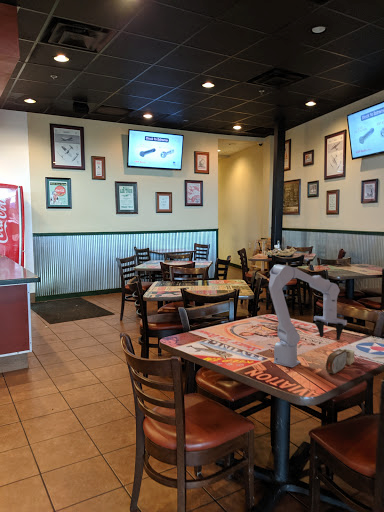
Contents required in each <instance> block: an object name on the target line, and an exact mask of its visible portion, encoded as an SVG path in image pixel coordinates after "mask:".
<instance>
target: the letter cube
mask: <svg viewBox="0 0 384 512" xmlns="http://www.w3.org/2000/svg"><path fill="white" fill-rule="evenodd" d="M341 350H344V351H346V352H347V363H346V365H349V366H351V365H352V364H353V363H354V362H355V350H351V349H346V348H342V349H341Z"/></svg>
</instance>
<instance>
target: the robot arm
mask: <svg viewBox="0 0 384 512" xmlns="http://www.w3.org/2000/svg"><path fill="white" fill-rule="evenodd" d="M269 275H270V276H269V281H268V282H269V283H268V290H269V293H270V297H271V301H272V304H273V308H274V311H275V315H276V318H277V321H278V325H277V327H276V328H277V334H276V335H277V337H278V339H279V341H277V342H276V343H274V344H275V345H274V347H273V357H274V358H273V364H277V365H281V366H283V367H289V368H294V367H296V366H298V365H299V364H301V360H298V344H299V342H300V340H301V336H300V334H299V333H298V331H297V329H296V327H295V326H294V324H293V322H292V320H291V316H290V313H289V308H288V305H287V302H286V298H285V295H284V292H283V291H284V290H283V288H284V287H285V286H286V285H287V284H288V283H289V282H290V281H291V280H292V279H296V278H297V279H299V280H301V281H304V282H306V283H308V285H309V288H312V289H314V290H316V291H319V292H321V294H323V296H322V297H323V298H322V299H323V301H322V302H323V303H322V304H323V306H322V309H323V311H322V313H323V315H322V316H321V315H320V316H319V315H315V316H313V321H315V322H314V325H315V326H316V328H317V330H318V334H319V337H320V338H324V334H325V333H324V332H325V331H324V327H325V326H324V325H325V323H331V324H335V331H336V337H335V338H336V341H340V340H341V335H342V332H343V330H344V329H345V326H347V325H348V320H347V319H342V318H338V317H337V316H338V314H337V312H338V310H337V309H338V307H337V306H338V303H337V302H338V301H337V300H338V297H339V296H338V295H339V293H340V290H341V289H340V288H339V286H338V284H337V283H334V282H330V280H329V279H325V278H323V277H322V275H319V274H318V275H316V274H315V275H310V274H308V273H306V272H304V271H302V270H300V269H299V268H296V267H292V266H290V265H282V264H279V263H278V264H274V265H273V267H272V268H271V269H270V270H269Z"/></svg>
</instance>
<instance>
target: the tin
mask: <svg viewBox="0 0 384 512" xmlns="http://www.w3.org/2000/svg"><path fill="white" fill-rule="evenodd" d="M346 363H347V352H346V351H344V350H342V349H341V348H338V349H336V350H334V351H332V352H331V353H329V355H328V356H327V359H326V362H325V370H326V372H327V373H328V374H331V375H336V374H338V373H339V372H341V371H343V370H344V369H345V368H346V365H347V364H346Z"/></svg>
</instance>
